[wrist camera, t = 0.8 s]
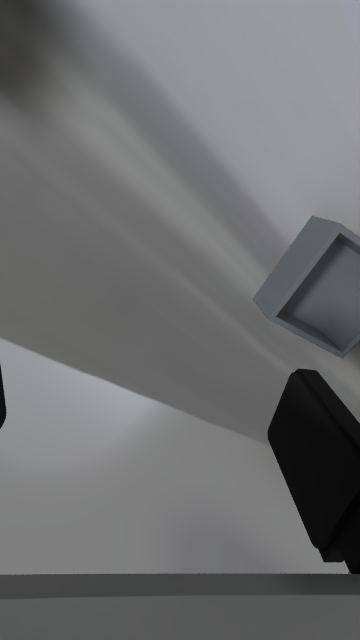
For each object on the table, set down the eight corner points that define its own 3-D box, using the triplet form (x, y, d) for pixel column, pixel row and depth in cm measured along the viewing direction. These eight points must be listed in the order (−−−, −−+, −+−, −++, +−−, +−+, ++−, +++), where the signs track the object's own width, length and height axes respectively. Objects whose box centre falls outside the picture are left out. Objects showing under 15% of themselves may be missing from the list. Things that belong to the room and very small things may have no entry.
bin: (312, 215, 35) (339, 223, 30) (381, 263, 39) (417, 277, 33) (252, 299, 40) (267, 318, 34) (319, 335, 43) (342, 358, 38)
